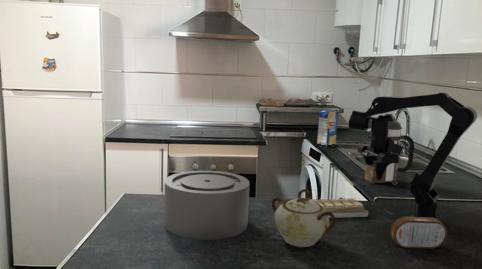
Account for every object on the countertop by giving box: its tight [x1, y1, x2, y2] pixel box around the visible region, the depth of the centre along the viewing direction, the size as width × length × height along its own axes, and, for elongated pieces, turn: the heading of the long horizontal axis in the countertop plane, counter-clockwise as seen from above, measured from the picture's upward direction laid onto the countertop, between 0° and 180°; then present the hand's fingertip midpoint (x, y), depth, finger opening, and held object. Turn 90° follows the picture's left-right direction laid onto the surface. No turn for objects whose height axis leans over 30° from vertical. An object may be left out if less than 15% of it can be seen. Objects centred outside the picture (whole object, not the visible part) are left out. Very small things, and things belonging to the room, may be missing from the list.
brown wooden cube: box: [364, 164, 387, 184], centre depth 146 cm, size 5×5×5 cm
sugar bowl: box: [271, 188, 337, 248], centre depth 116 cm, size 20×15×15 cm
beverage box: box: [316, 110, 339, 146], centre depth 266 cm, size 7×11×22 cm, turn 136°
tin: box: [390, 216, 448, 250], centre depth 116 cm, size 15×3×8 cm, turn 92°
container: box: [163, 170, 250, 241], centre depth 126 cm, size 25×25×13 cm
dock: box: [328, 209, 369, 219], centre depth 141 cm, size 9×19×2 cm, turn 101°
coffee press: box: [366, 113, 415, 186], centre depth 183 cm, size 17×16×30 cm
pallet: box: [310, 198, 365, 211], centre depth 141 cm, size 7×17×2 cm, turn 101°
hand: (375, 177), depth 146 cm, fingers closed on brown wooden cube, 5 cm apart
